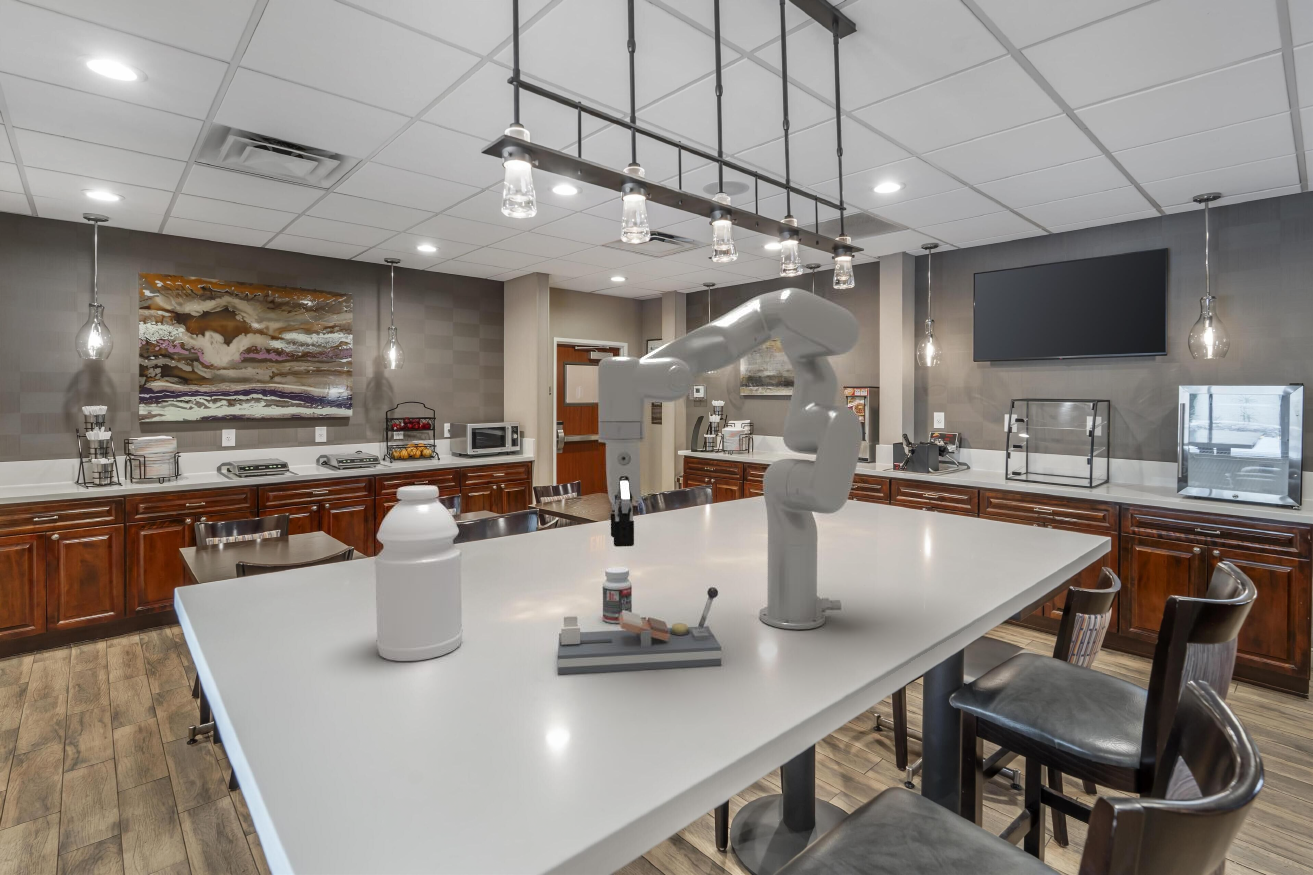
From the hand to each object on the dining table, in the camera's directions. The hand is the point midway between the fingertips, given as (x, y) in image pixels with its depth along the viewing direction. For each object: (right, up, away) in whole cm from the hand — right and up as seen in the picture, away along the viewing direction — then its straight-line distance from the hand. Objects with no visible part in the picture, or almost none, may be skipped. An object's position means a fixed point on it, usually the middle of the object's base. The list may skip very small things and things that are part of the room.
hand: (622, 540), depth 103 cm
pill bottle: (-2, -19, +21) cm, 28 cm away
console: (+3, -20, +1) cm, 20 cm away
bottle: (-35, -20, +6) cm, 41 cm away
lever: (+13, -15, +2) cm, 20 cm away
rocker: (+3, -15, +1) cm, 15 cm away
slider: (-8, -17, 0) cm, 19 cm away
